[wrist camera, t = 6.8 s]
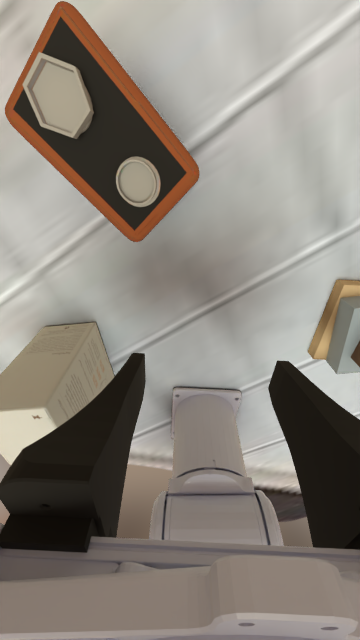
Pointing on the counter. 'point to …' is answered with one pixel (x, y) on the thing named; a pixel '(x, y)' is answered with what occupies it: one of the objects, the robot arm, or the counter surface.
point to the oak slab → (331, 317)
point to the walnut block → (356, 355)
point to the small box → (50, 384)
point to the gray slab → (345, 336)
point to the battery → (99, 127)
